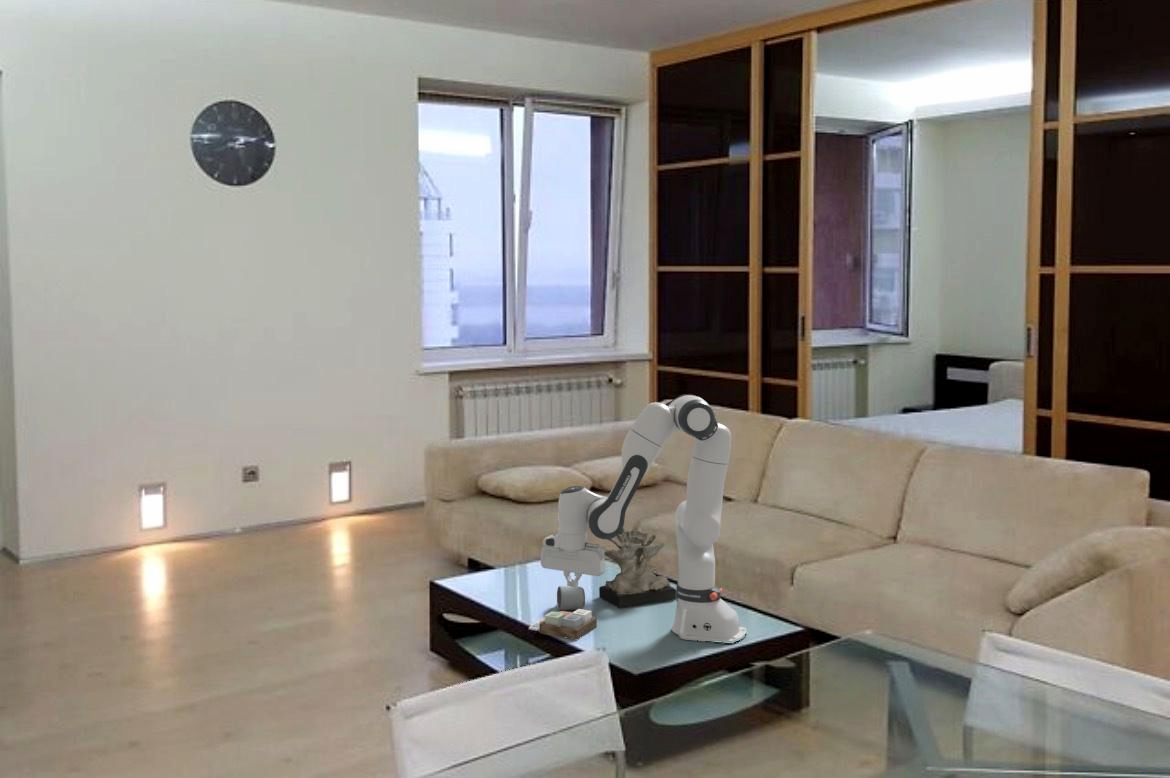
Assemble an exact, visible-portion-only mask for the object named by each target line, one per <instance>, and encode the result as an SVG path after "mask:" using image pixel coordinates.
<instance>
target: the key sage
mask: <svg viewBox="0 0 1170 778" xmlns="http://www.w3.org/2000/svg"><path fill="white" fill-rule="evenodd" d="M558 612H559V611H553V610H552V611H550V612H549V613H547V614H545V615H544V618H545V624H551V625H556V626H559V625H561V624H562V623H563V618H564V617H565V614H564V613H558Z"/></svg>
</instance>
